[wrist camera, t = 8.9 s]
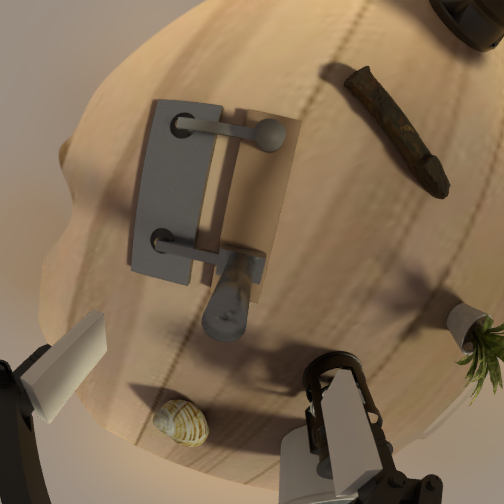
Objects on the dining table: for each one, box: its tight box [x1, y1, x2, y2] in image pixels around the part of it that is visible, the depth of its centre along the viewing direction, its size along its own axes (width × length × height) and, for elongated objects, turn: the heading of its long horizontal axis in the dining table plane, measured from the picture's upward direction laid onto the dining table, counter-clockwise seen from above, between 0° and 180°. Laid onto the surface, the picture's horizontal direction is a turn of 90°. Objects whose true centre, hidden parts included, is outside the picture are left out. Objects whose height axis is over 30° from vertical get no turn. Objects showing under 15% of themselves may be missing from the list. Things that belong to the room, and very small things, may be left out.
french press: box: [303, 352, 393, 504], centre depth 27 cm, size 12×9×23 cm
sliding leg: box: [154, 238, 266, 342], centre depth 25 cm, size 13×3×14 cm, turn 78°
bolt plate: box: [131, 99, 224, 286], centre depth 31 cm, size 8×22×1 cm, turn 168°
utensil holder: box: [279, 425, 358, 504], centre depth 34 cm, size 15×15×18 cm
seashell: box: [153, 400, 209, 447], centre depth 39 cm, size 10×10×10 cm
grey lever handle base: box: [175, 109, 301, 303], centre depth 29 cm, size 14×22×6 cm, turn 168°
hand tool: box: [344, 66, 450, 199], centre depth 26 cm, size 19×4×5 cm, turn 39°
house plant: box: [447, 303, 504, 405], centre depth 26 cm, size 14×14×16 cm
